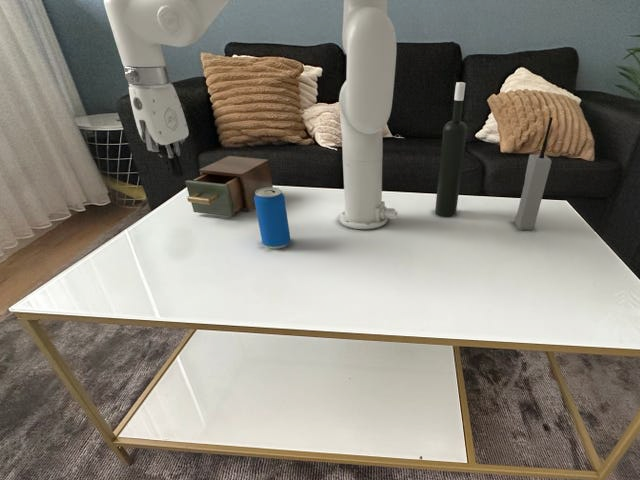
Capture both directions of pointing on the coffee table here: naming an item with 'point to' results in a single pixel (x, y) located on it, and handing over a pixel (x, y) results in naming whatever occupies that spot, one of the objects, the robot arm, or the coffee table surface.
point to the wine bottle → (451, 158)
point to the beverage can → (272, 217)
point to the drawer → (216, 194)
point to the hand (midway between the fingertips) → (175, 175)
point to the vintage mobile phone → (533, 187)
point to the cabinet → (243, 175)
